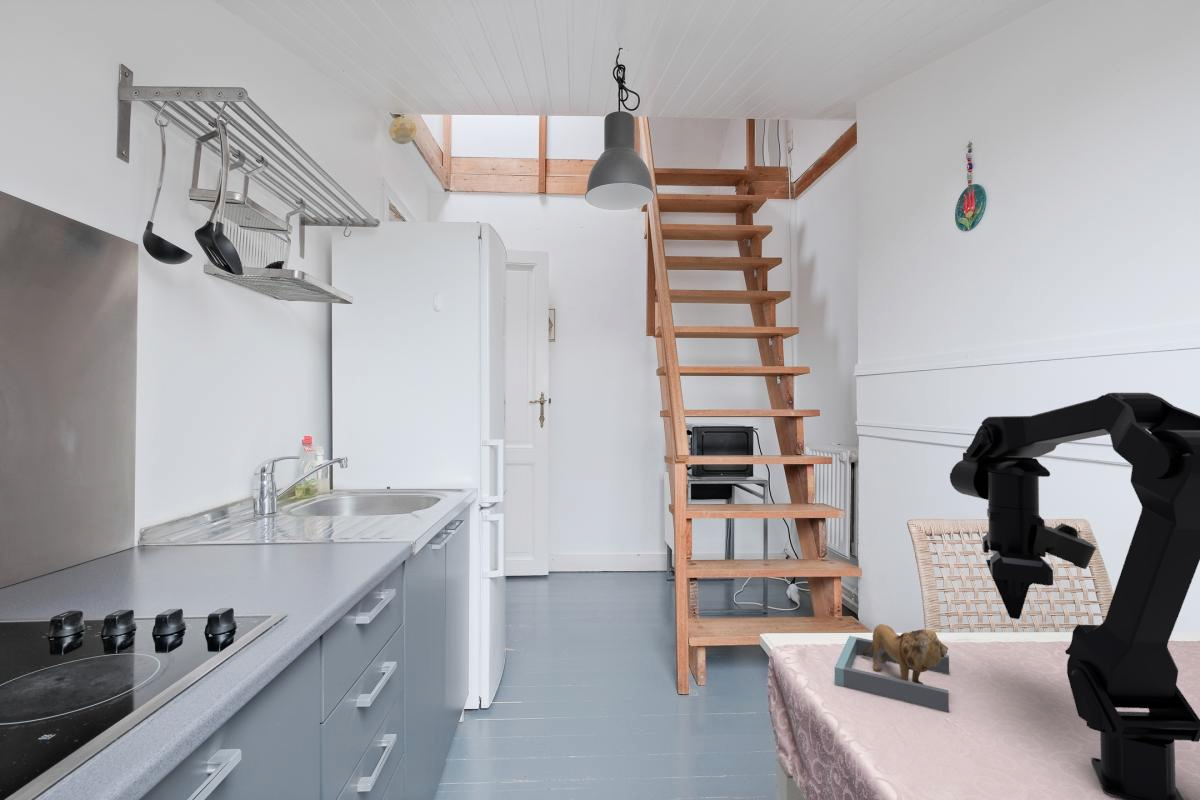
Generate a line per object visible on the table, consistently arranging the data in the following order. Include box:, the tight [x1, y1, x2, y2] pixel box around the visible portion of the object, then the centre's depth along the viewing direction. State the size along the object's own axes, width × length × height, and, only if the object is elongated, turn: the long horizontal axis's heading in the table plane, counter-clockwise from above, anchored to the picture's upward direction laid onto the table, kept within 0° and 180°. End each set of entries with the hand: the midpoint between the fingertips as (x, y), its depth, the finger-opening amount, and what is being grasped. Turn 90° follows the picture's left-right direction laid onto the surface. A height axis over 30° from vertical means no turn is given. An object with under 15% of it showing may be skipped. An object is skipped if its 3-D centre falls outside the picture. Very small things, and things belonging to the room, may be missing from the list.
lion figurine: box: [861, 623, 949, 685], centre depth 84 cm, size 15×5×9 cm, turn 18°
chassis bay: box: [834, 635, 950, 713], centre depth 84 cm, size 14×14×2 cm
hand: (1014, 617), depth 78 cm, fingers closed
